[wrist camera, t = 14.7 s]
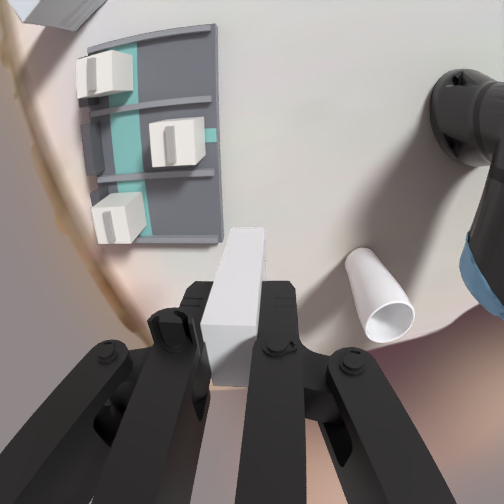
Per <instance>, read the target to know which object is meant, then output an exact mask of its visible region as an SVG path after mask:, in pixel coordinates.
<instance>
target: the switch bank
mask: <svg viewBox="0 0 504 504" xmlns="http://www.w3.org/2000/svg"><path fill="white" fill-rule="evenodd" d="M109 50H114V51H118V52H122V53H126V54H130V55H133V91H128V92H122V93H117V94H112V95H107V96H103V97H91V98H79V107H80V108H81V107H89V106H90V112H89V114H90V118H91V123H90V124H86V125H82V126H81V132H82V141H83V150H84V158H85V165H86V172H87V176H89V175H96V174H97V183H98V186H99V188H97V189H95V190H94V191H92V192H91V193H90V197H91V202H92V207H93V206H94V205H96V204H97V203H98V202H100V201H101V200H103V199H104V198H105V197H107V196H108V195H110V194H111V193H124V192H141V191H142V195H143V202H144V210H145V216H146V223H147V225H146V226H145V228H144V229H143V230H142V231H141V232H140V234H139V235H138V236H137V237H136V238H135V240H134V241H133V242H132V243H218V242H223V238H224V227H223V207H222V185H221V161H220V132H219V94H218V27H217V26H216V24H206V25H196V26H188V27H180V28H173V29H167V30H161V31H155V32H150V33H145V34H140V35H135V36H131V37H126V38H122V39H118V40H114V41H110V42H106V43H103V44H99V45H96V46H92V47H89V48H87V54H88V56H91V55H95V54H98V53H102V52H106V51H109ZM88 56H85V57H88ZM82 58H84V57H82ZM79 59H81V58H79ZM191 117H204V128H205V151H206V155H205V156H204V157H203V158H202V159H201V160H200V161H199V162H198V163H197V164H196V165H180V166H163V167H152V157H151V145H150V132H149V123H153V122H158V121H162V120H167V119H178V118H191Z"/></svg>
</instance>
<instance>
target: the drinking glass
mask: <svg viewBox="0 0 504 504" xmlns="http://www.w3.org/2000/svg"><path fill="white" fill-rule="evenodd" d="M345 270H346V272H347V275H348V278H349V282H350V286H351V289H352V294H353V298H354V302H355V306H356V310H357V314H358V317H359V320H360V322H361V325H362V327H363V330H364V332H365V334H366V336H367V337H368V338H369V339H370V340H371V341H374V342H377V343H386V342H390V341H393V340H396V339H398V338H399V337H401V336H402V335H404V334H405V333H406V332H407V331H408V330H409V328H410V327H411V325H412V324H413V321H414V317H415V312H414V309H413V307H412V305H411V303H410V301H409V299H408V297H407V295H406V294H405V292H404V290H403V289H402V288H401V286H400V285H399V284H398V282H397V281H396V280H395V279H394V277H393V276H392V275H391V274H390V272H389V271H388V270H387V269H386V268H385V266H384V265H383V264H382V263H381V261H380V260H379V259H378V258H377V256H376V254H375V253H374V252H373V251H372V250H370V249H368V248H358V249H355V250H353V251H352V252H351V253H350V254H349V255H348V256H347V258H346V260H345Z"/></svg>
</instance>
